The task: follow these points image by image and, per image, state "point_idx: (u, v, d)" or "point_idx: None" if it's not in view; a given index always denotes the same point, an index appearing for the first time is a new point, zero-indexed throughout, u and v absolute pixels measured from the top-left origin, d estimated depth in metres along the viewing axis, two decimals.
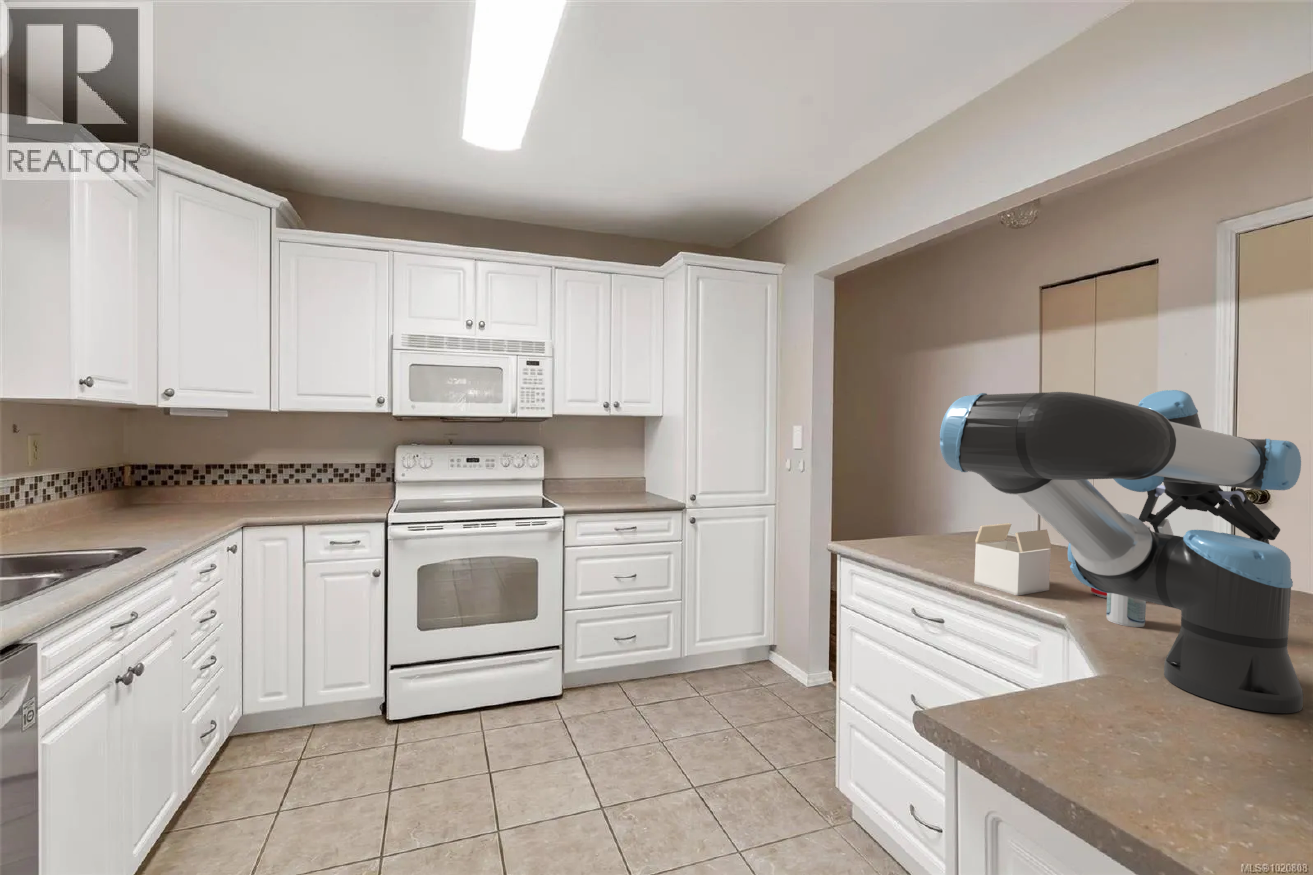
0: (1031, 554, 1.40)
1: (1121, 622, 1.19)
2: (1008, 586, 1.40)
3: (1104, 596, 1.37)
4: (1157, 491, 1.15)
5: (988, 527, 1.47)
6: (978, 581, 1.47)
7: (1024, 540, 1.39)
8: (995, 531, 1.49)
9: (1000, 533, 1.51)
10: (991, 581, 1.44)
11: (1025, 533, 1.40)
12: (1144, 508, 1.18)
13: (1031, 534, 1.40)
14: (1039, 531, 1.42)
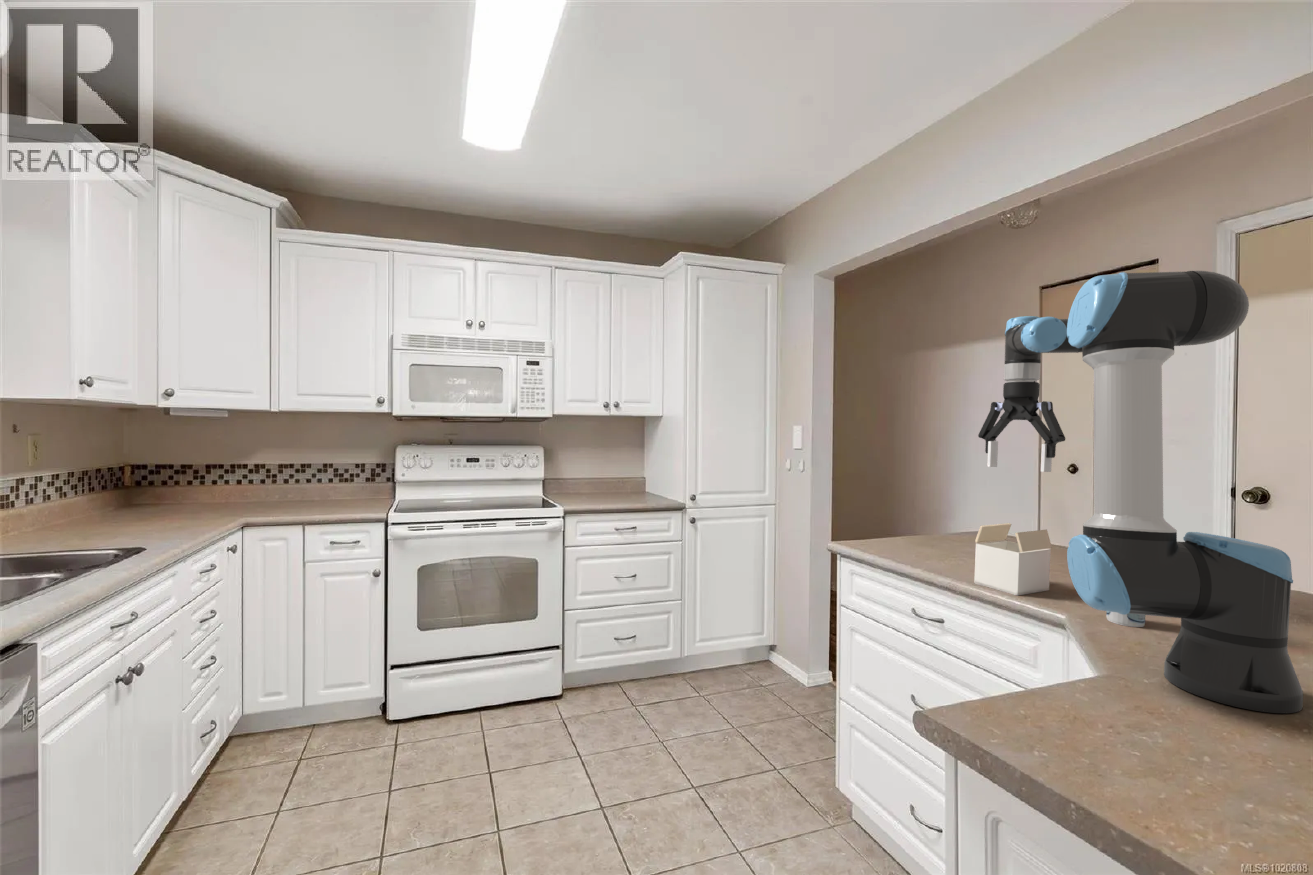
0: (1031, 554, 1.40)
1: (1121, 622, 1.19)
2: (1008, 586, 1.40)
3: None
4: (997, 406, 1.49)
5: (988, 527, 1.47)
6: (978, 581, 1.47)
7: (1024, 540, 1.39)
8: (995, 531, 1.49)
9: (1000, 533, 1.51)
10: (991, 581, 1.44)
11: (1025, 533, 1.40)
12: (984, 423, 1.51)
13: (1031, 534, 1.40)
14: (1039, 531, 1.42)
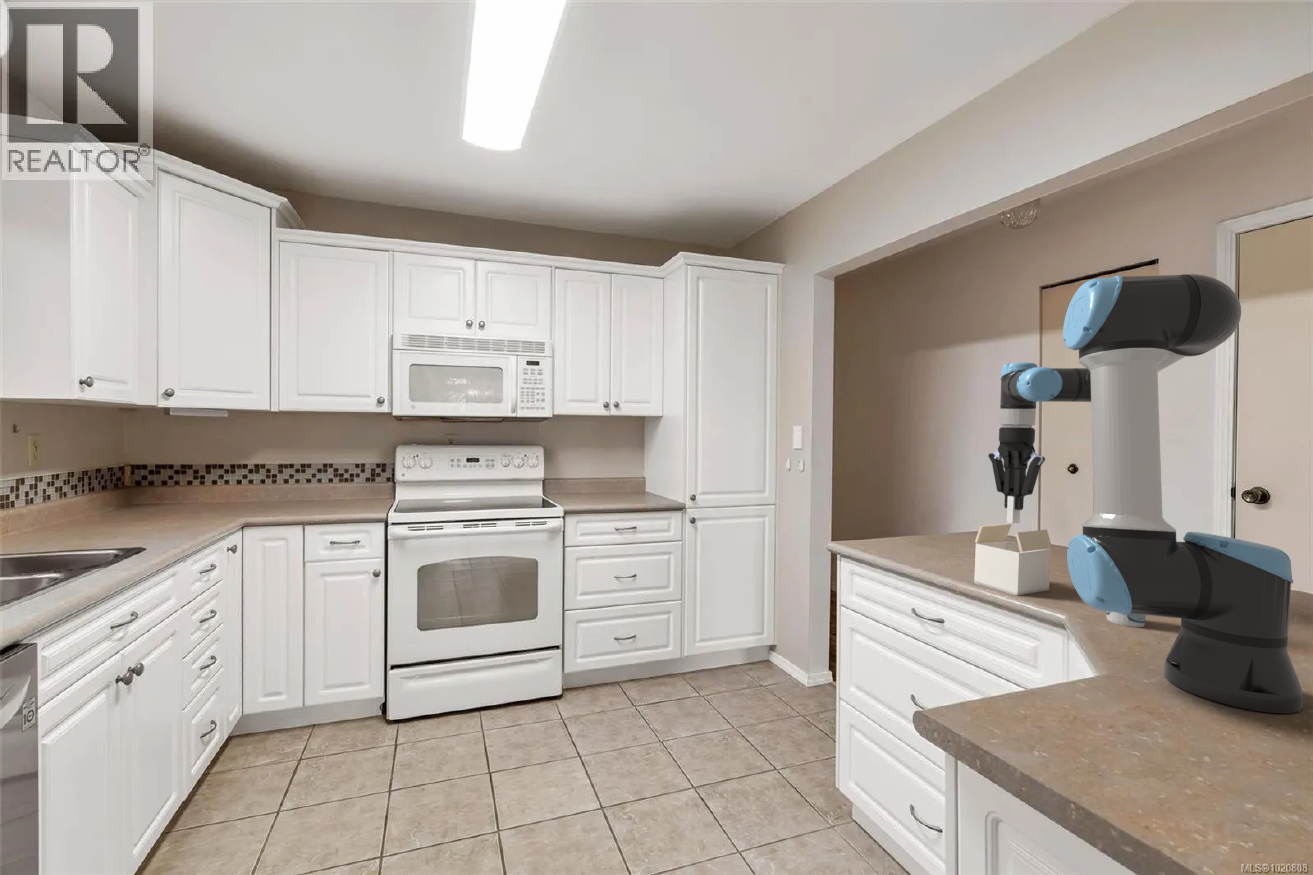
0: (1031, 554, 1.40)
1: (1121, 622, 1.19)
2: (1008, 586, 1.40)
3: None
4: (995, 456, 1.49)
5: (988, 527, 1.47)
6: (978, 581, 1.47)
7: (1024, 540, 1.39)
8: (995, 531, 1.49)
9: (1000, 533, 1.51)
10: (991, 581, 1.44)
11: (1025, 533, 1.40)
12: (995, 476, 1.48)
13: (1031, 534, 1.40)
14: (1039, 531, 1.42)
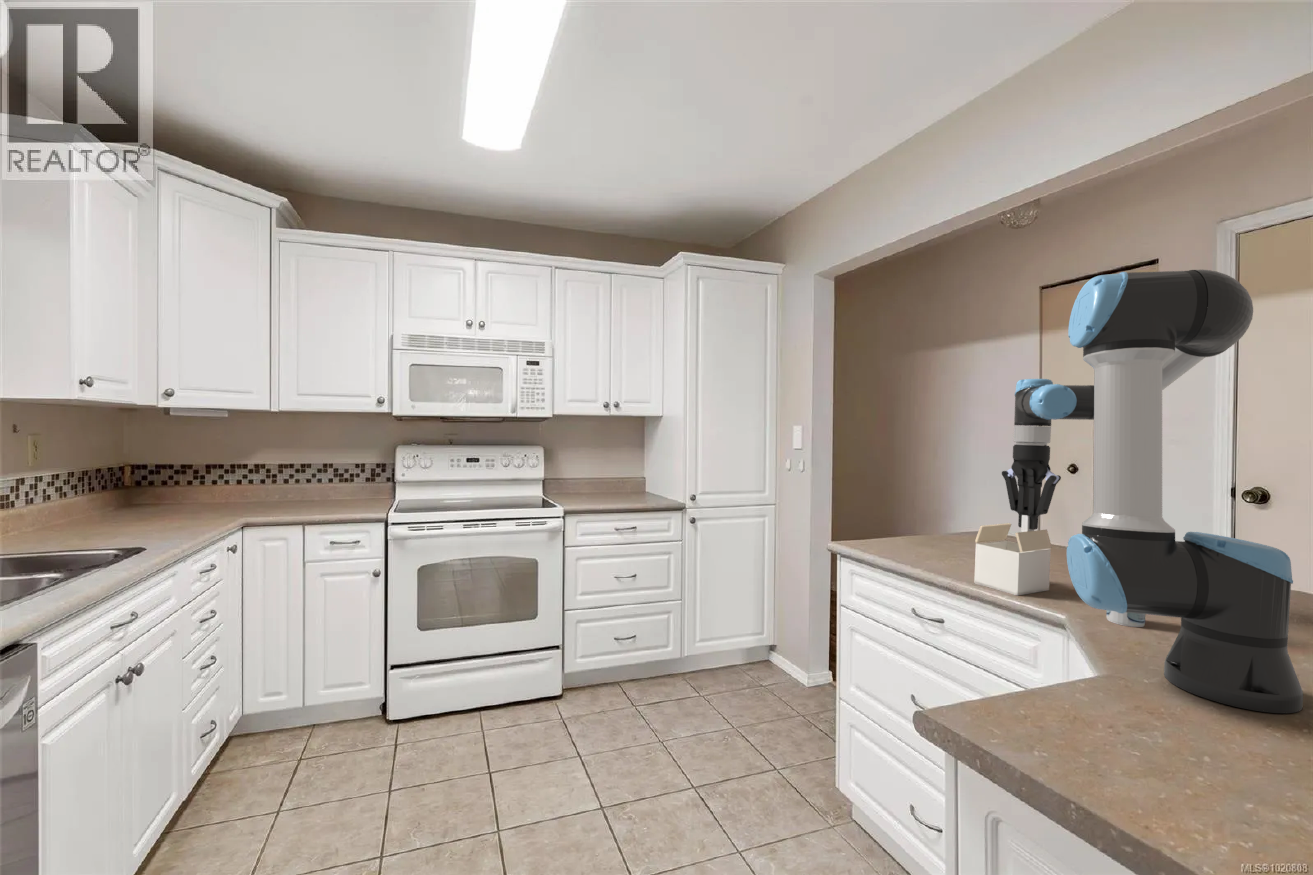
0: (1031, 554, 1.40)
1: (1121, 622, 1.19)
2: (1008, 586, 1.40)
3: None
4: (1009, 473, 1.45)
5: (988, 527, 1.47)
6: (978, 581, 1.47)
7: (1024, 540, 1.39)
8: (995, 531, 1.49)
9: (1000, 533, 1.51)
10: (991, 581, 1.44)
11: (1025, 533, 1.39)
12: (1008, 494, 1.45)
13: (1031, 534, 1.40)
14: (1039, 531, 1.42)
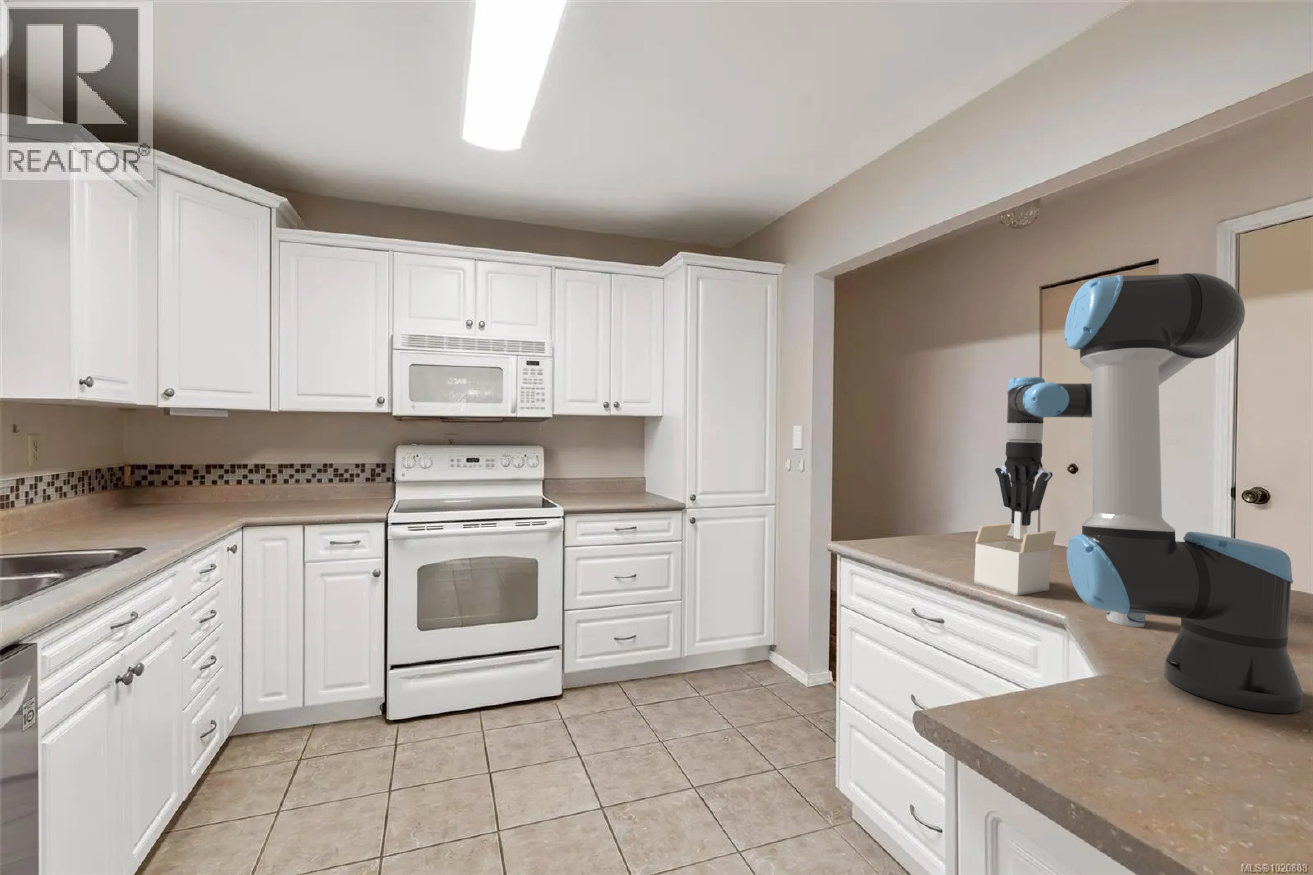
0: (1031, 554, 1.40)
1: (1121, 622, 1.19)
2: (1008, 586, 1.40)
3: None
4: (1002, 470, 1.47)
5: (988, 527, 1.47)
6: (978, 581, 1.47)
7: (1029, 542, 1.38)
8: (995, 531, 1.49)
9: (1000, 533, 1.51)
10: (991, 581, 1.44)
11: (1034, 535, 1.38)
12: (1002, 491, 1.47)
13: (1039, 536, 1.39)
14: (1048, 533, 1.40)
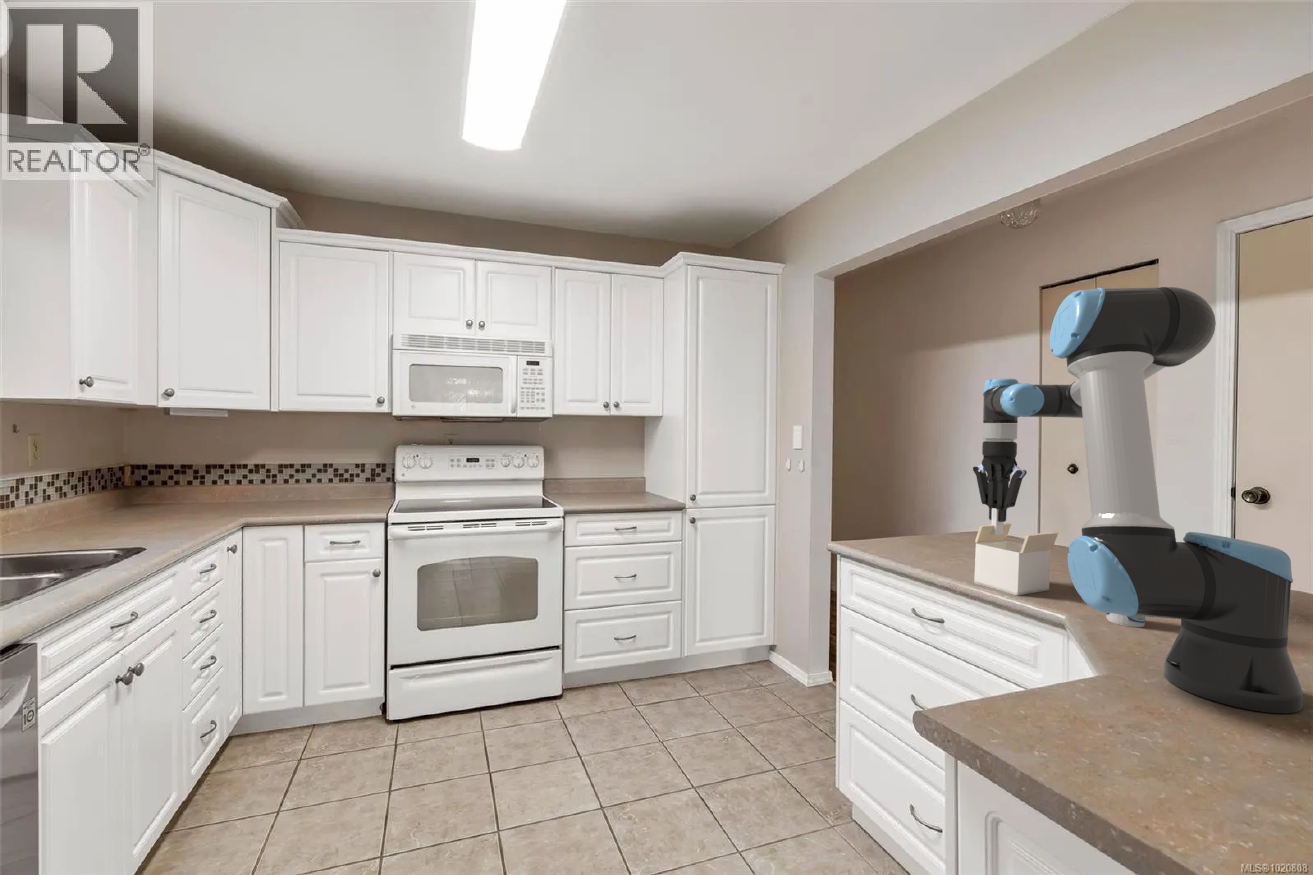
0: (1031, 554, 1.40)
1: (1121, 622, 1.19)
2: (1008, 586, 1.40)
3: None
4: (980, 469, 1.53)
5: (988, 527, 1.48)
6: (978, 581, 1.47)
7: (1030, 543, 1.37)
8: None
9: None
10: (991, 581, 1.44)
11: (1035, 536, 1.37)
12: (979, 489, 1.52)
13: (1041, 537, 1.38)
14: (1050, 534, 1.40)
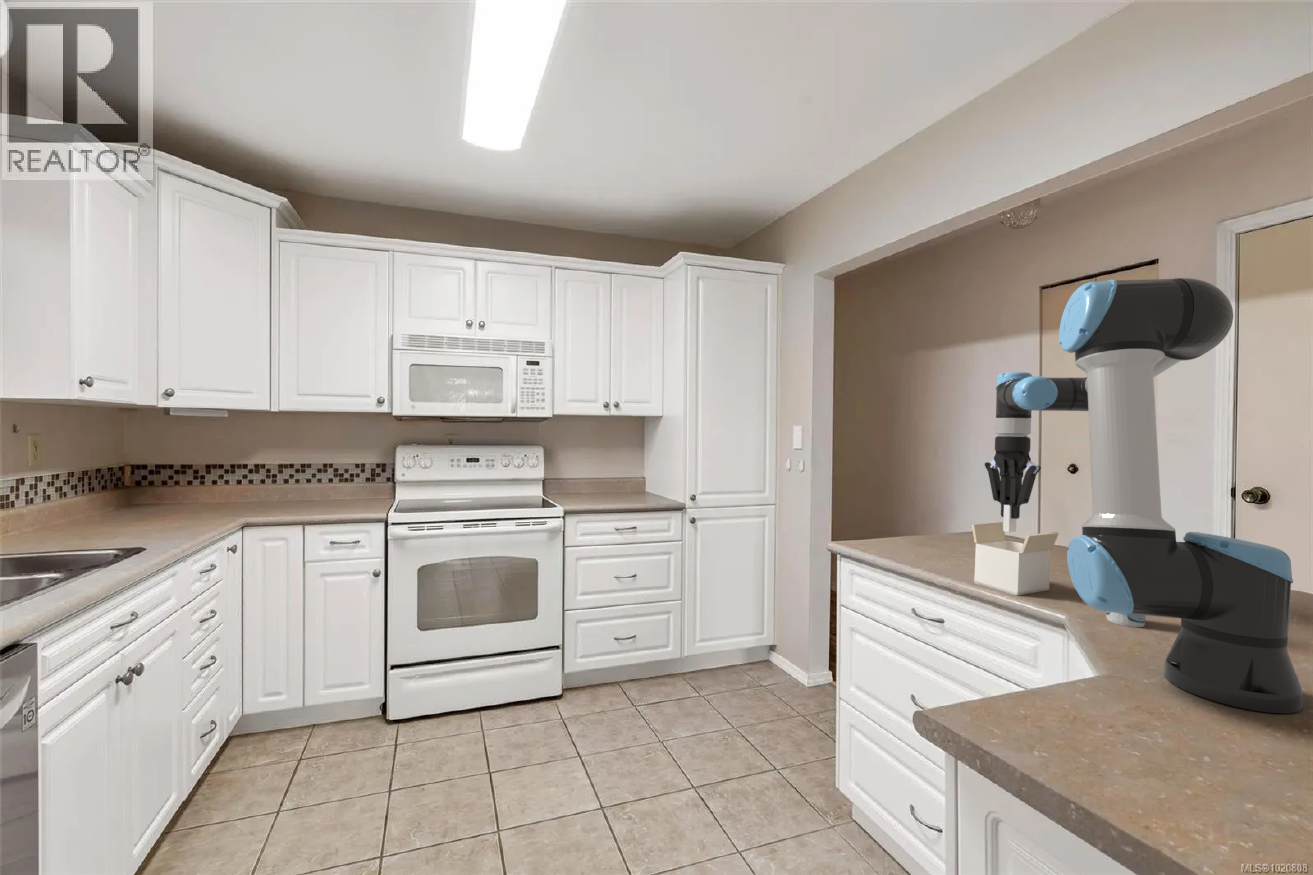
0: (1031, 554, 1.40)
1: (1121, 622, 1.19)
2: (1008, 586, 1.40)
3: None
4: (992, 465, 1.49)
5: (980, 525, 1.49)
6: (978, 581, 1.47)
7: (1031, 543, 1.37)
8: (990, 530, 1.51)
9: (996, 532, 1.52)
10: (991, 581, 1.44)
11: (1036, 537, 1.37)
12: (991, 485, 1.49)
13: (1041, 537, 1.38)
14: (1050, 535, 1.40)
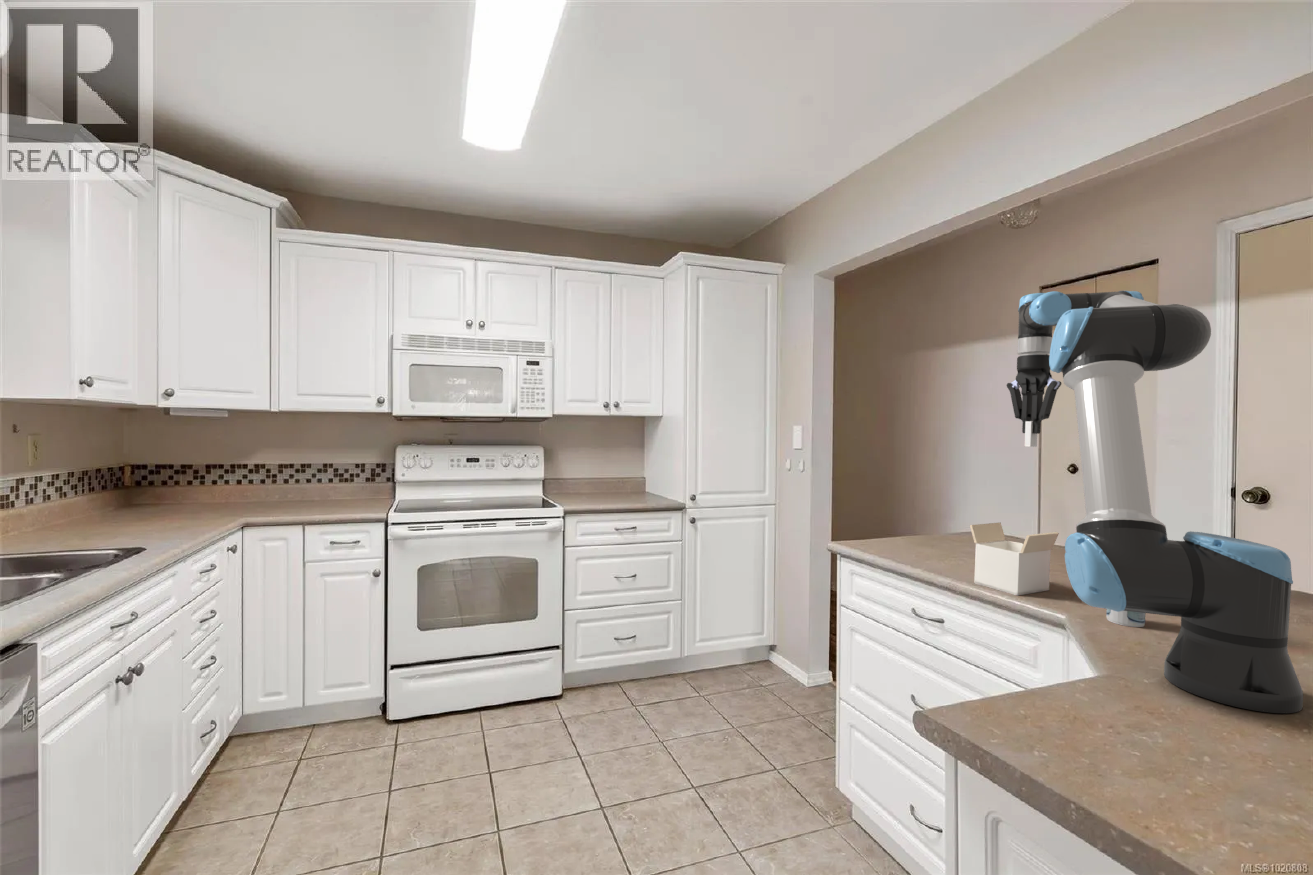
0: (1031, 554, 1.40)
1: (1121, 622, 1.19)
2: (1008, 586, 1.40)
3: None
4: (1013, 385, 1.57)
5: (978, 525, 1.50)
6: (978, 581, 1.47)
7: (1031, 543, 1.37)
8: (988, 530, 1.51)
9: (996, 533, 1.52)
10: (991, 581, 1.44)
11: (1036, 537, 1.37)
12: (1013, 404, 1.56)
13: (1041, 537, 1.38)
14: (1050, 535, 1.40)
